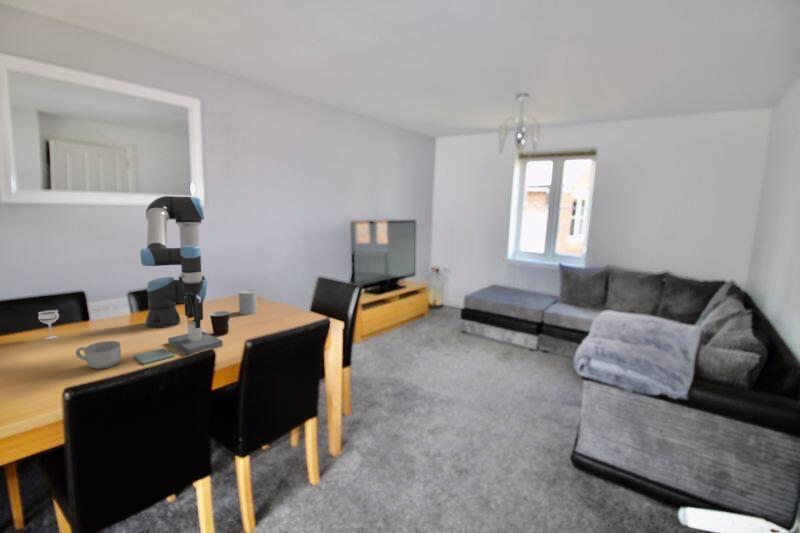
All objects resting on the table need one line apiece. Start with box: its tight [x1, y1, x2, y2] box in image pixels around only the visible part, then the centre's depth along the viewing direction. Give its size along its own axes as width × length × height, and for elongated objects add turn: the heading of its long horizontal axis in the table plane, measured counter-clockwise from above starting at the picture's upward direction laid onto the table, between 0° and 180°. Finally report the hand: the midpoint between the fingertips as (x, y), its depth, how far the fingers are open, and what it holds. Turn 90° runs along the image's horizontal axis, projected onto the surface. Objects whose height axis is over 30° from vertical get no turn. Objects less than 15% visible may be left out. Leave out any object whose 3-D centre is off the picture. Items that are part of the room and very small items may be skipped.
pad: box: [132, 347, 176, 366], centre depth 151 cm, size 11×11×1 cm
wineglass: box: [37, 309, 60, 340], centre depth 168 cm, size 7×7×12 cm
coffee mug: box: [209, 310, 231, 337], centre depth 182 cm, size 12×9×10 cm
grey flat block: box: [167, 330, 224, 356], centre depth 166 cm, size 20×14×2 cm
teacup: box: [75, 340, 122, 370], centre depth 142 cm, size 14×11×8 cm
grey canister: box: [238, 289, 258, 316], centre depth 217 cm, size 10×10×12 cm
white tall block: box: [186, 317, 203, 342], centre depth 165 cm, size 4×4×12 cm
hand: (194, 333), depth 165 cm, fingers closed on white tall block, 4 cm apart
